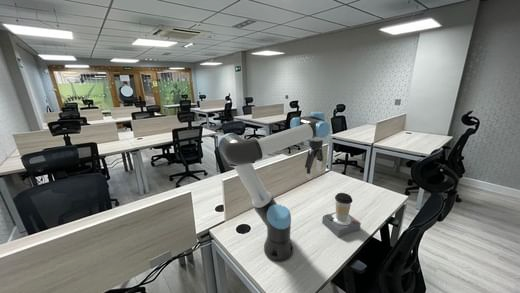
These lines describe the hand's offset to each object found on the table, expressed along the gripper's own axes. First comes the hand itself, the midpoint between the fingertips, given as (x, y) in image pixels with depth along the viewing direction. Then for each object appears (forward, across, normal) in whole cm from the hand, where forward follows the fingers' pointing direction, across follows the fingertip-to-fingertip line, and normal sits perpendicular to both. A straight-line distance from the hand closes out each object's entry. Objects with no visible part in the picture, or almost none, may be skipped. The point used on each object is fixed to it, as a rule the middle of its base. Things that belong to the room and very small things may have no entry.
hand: (313, 174), depth 120 cm
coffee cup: (+26, +5, -17) cm, 32 cm away
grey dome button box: (+32, +5, -17) cm, 36 cm away
